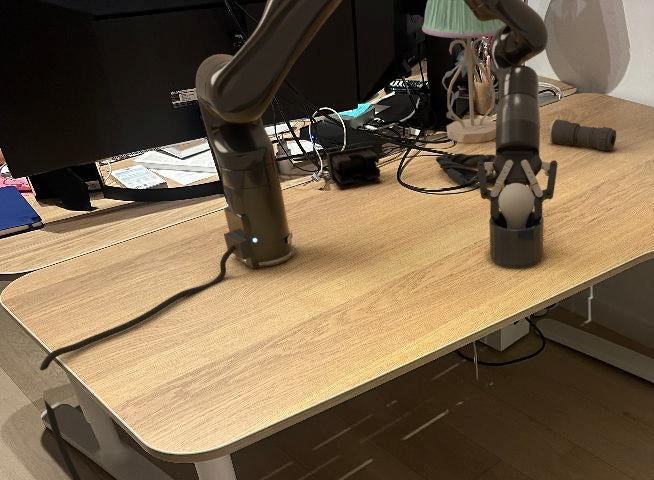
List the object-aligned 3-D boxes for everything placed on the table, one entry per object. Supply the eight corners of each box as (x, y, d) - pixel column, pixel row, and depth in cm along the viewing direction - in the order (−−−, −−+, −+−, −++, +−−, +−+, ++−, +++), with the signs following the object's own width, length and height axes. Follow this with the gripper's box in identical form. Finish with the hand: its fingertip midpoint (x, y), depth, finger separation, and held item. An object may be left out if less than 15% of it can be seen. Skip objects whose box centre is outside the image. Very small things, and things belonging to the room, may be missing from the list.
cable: (425, 170, 167) (424, 151, 165) (477, 157, 174) (476, 138, 171) (468, 193, 156) (468, 173, 154) (522, 178, 163) (522, 158, 160)
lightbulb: (532, 236, 133) (533, 177, 127) (535, 252, 128) (536, 190, 122) (498, 238, 133) (497, 178, 127) (499, 253, 128) (498, 191, 122)
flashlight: (617, 147, 178) (619, 124, 174) (609, 154, 174) (610, 131, 171) (558, 138, 184) (558, 116, 180) (548, 145, 180) (549, 122, 177)
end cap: (373, 172, 167) (369, 141, 163) (383, 182, 162) (379, 151, 158) (329, 179, 164) (324, 149, 160) (338, 190, 159) (333, 159, 155)
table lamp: (497, 118, 199) (494, -56, 175) (529, 142, 182) (531, -47, 159) (419, 128, 193) (405, -51, 169) (444, 154, 176) (433, -40, 153)
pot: (517, 273, 126) (517, 235, 122) (479, 257, 132) (478, 220, 128) (553, 255, 132) (554, 218, 128) (515, 240, 137) (515, 204, 133)
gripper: (474, 117, 125) (472, 212, 123) (560, 117, 125) (559, 212, 122) (477, 139, 133) (475, 229, 130) (558, 138, 132) (558, 229, 130)
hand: (516, 221), depth 126 cm, fingers closed on lightbulb, 6 cm apart
